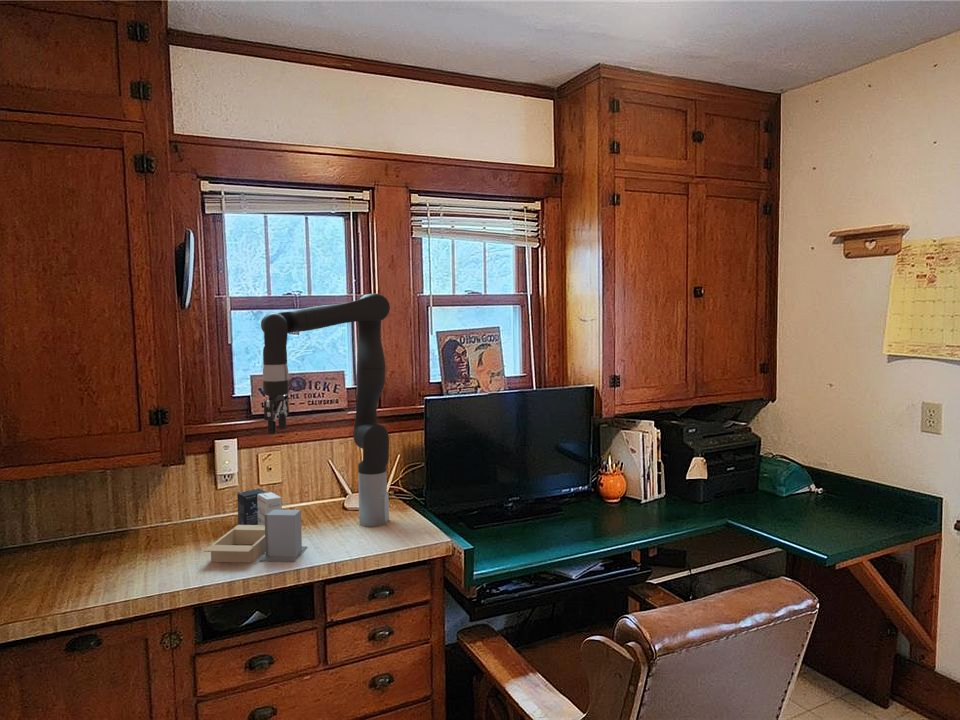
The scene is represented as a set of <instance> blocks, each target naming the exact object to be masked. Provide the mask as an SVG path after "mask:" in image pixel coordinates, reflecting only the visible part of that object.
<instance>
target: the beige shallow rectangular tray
mask: <svg viewBox="0 0 960 720" xmlns="http://www.w3.org/2000/svg"><path fill="white" fill-rule="evenodd" d="M203 552H205V553H210V561H211V562H213V563H214V562H216V563H255V562H256V561H258V560H259V558H261V557H260V556H261V555H262V554H263V553H264V552H265V553H266V546H265V525H258V524H256V525H240V524H236V525H235V526H234V527H233V528H232V529H230V530H229V531H228V532H226V533H225V534H224V535H222V536H221V537H220V538H218V540H216V541H214V542H213V543H211V544H210V545H209V546H208V547H207V548H204V550H203ZM265 553H264V554H265ZM264 554H263V555H264ZM263 555H262V556H263Z"/></svg>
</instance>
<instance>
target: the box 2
mask: <svg viewBox="0 0 960 720" xmlns="http://www.w3.org/2000/svg"><path fill="white" fill-rule="evenodd" d="M264 518H265V546H266V552H265V554H266V556H289V557H296V556H297V555H298V554H299V553H300V552H301V551H302V546H303V539H302V538H303V537H302V511H301V509H282V510H270V511H269V512H267V513H266V514H265V515H264Z"/></svg>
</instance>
